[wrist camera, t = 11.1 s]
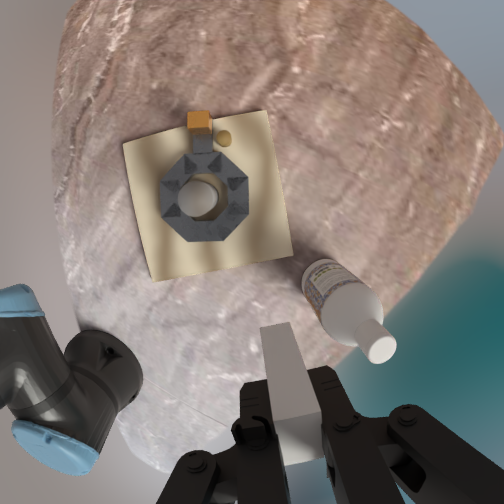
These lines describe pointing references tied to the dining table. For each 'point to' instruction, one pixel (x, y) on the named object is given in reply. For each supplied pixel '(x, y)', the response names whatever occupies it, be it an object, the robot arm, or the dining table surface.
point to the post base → (246, 235)
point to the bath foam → (347, 309)
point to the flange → (204, 163)
